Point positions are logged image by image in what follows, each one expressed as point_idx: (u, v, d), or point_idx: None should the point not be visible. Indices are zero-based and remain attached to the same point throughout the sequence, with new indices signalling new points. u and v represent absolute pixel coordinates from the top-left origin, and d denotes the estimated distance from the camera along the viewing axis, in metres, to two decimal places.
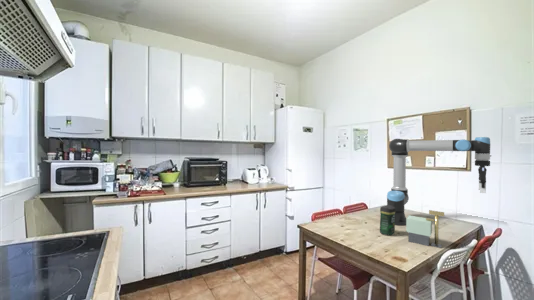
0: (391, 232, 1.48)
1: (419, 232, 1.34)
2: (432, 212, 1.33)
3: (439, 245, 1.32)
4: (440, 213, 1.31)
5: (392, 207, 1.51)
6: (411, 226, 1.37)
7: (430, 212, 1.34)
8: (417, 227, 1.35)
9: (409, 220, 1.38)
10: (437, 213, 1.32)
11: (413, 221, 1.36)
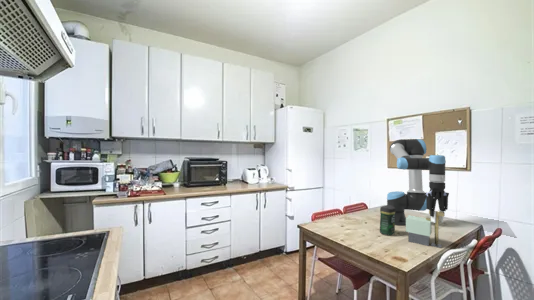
0: (391, 232, 1.48)
1: (418, 232, 1.35)
2: None
3: (439, 245, 1.32)
4: (440, 213, 1.31)
5: (392, 207, 1.51)
6: (411, 226, 1.37)
7: None
8: (416, 226, 1.35)
9: (409, 220, 1.38)
10: (437, 213, 1.32)
11: (413, 221, 1.37)
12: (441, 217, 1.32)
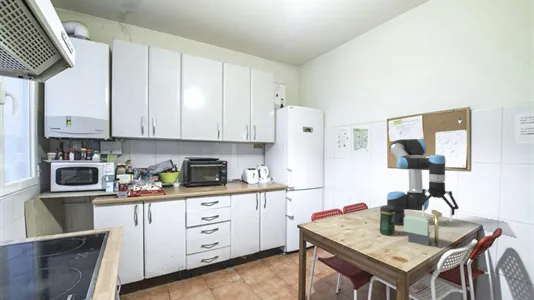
0: (391, 232, 1.48)
1: (416, 231, 1.35)
2: (433, 211, 1.35)
3: (439, 245, 1.32)
4: (436, 213, 1.31)
5: (392, 207, 1.51)
6: (409, 226, 1.38)
7: (432, 211, 1.36)
8: (414, 226, 1.36)
9: (406, 219, 1.39)
10: (435, 213, 1.33)
11: (410, 220, 1.37)
12: None
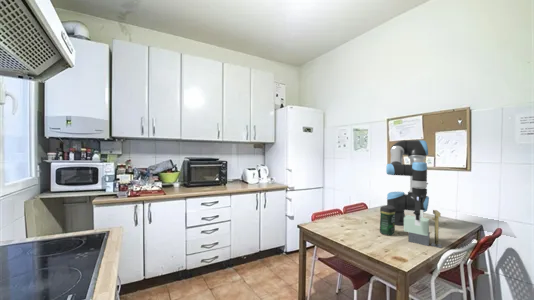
0: (391, 232, 1.48)
1: (416, 231, 1.35)
2: (433, 211, 1.35)
3: (439, 245, 1.32)
4: (435, 213, 1.32)
5: (392, 207, 1.51)
6: (409, 226, 1.38)
7: (433, 211, 1.36)
8: (414, 226, 1.36)
9: (406, 219, 1.39)
10: (434, 213, 1.33)
11: (410, 220, 1.37)
12: None
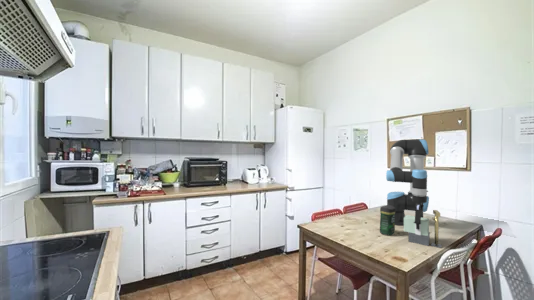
0: (391, 232, 1.48)
1: None
2: (433, 211, 1.35)
3: (439, 245, 1.32)
4: (435, 213, 1.32)
5: (392, 207, 1.51)
6: (409, 226, 1.38)
7: (433, 211, 1.36)
8: (414, 226, 1.36)
9: (406, 219, 1.39)
10: (434, 213, 1.33)
11: (410, 220, 1.37)
12: None
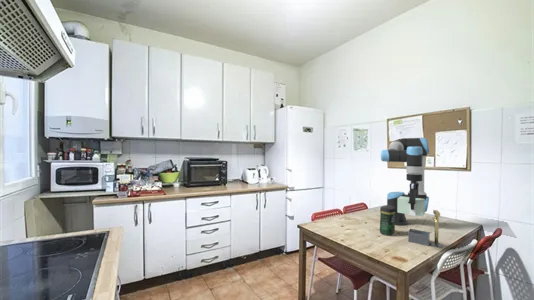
0: (391, 232, 1.48)
1: None
2: (433, 211, 1.35)
3: (439, 245, 1.32)
4: (435, 213, 1.32)
5: (392, 207, 1.51)
6: (403, 206, 1.28)
7: (433, 211, 1.36)
8: (408, 206, 1.27)
9: (400, 200, 1.29)
10: (434, 212, 1.33)
11: (404, 201, 1.28)
12: None
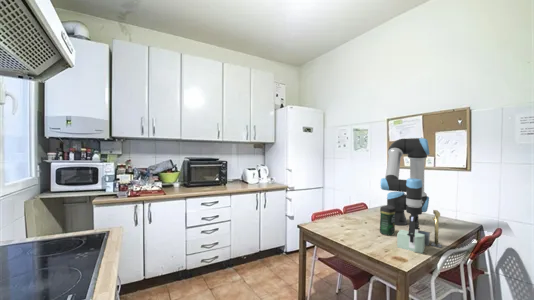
0: (391, 232, 1.48)
1: (410, 248, 1.26)
2: (433, 211, 1.35)
3: (439, 245, 1.32)
4: (435, 213, 1.32)
5: (392, 207, 1.51)
6: (402, 242, 1.29)
7: (433, 211, 1.36)
8: (408, 243, 1.27)
9: (400, 235, 1.30)
10: (434, 212, 1.33)
11: (404, 237, 1.28)
12: None
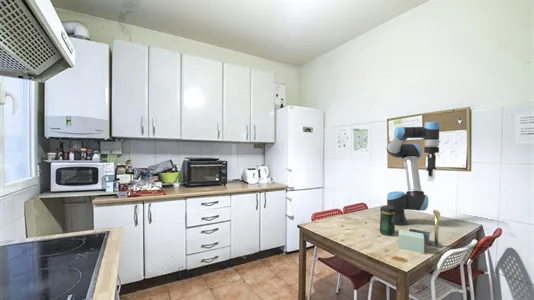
0: (391, 232, 1.48)
1: (412, 249, 1.26)
2: (433, 211, 1.35)
3: (439, 245, 1.32)
4: (435, 213, 1.32)
5: (392, 207, 1.51)
6: (404, 242, 1.28)
7: (433, 211, 1.36)
8: (410, 243, 1.26)
9: (401, 236, 1.29)
10: (434, 212, 1.33)
11: (406, 237, 1.27)
12: (434, 174, 1.48)
